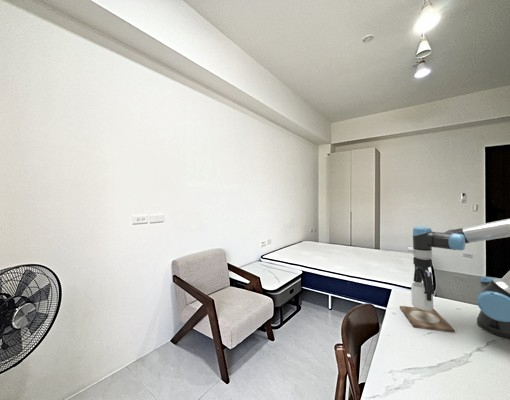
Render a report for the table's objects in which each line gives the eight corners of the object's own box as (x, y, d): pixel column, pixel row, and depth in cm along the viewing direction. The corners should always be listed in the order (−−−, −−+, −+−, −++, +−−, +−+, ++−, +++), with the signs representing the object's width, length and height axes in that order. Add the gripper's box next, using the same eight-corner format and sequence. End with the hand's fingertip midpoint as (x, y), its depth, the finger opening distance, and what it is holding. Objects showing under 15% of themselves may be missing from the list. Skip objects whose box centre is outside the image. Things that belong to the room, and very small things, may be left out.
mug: (436, 304, 112) (435, 283, 112) (431, 312, 104) (430, 290, 105) (416, 299, 119) (415, 279, 119) (409, 306, 111) (409, 285, 111)
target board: (434, 311, 118) (434, 309, 118) (455, 332, 99) (455, 329, 99) (399, 307, 123) (399, 305, 123) (413, 327, 104) (413, 324, 104)
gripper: (405, 252, 123) (406, 292, 123) (423, 263, 101) (424, 311, 101) (421, 252, 121) (422, 293, 121) (443, 264, 99) (444, 313, 99)
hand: (423, 301), depth 111 cm, fingers closed on mug, 10 cm apart
